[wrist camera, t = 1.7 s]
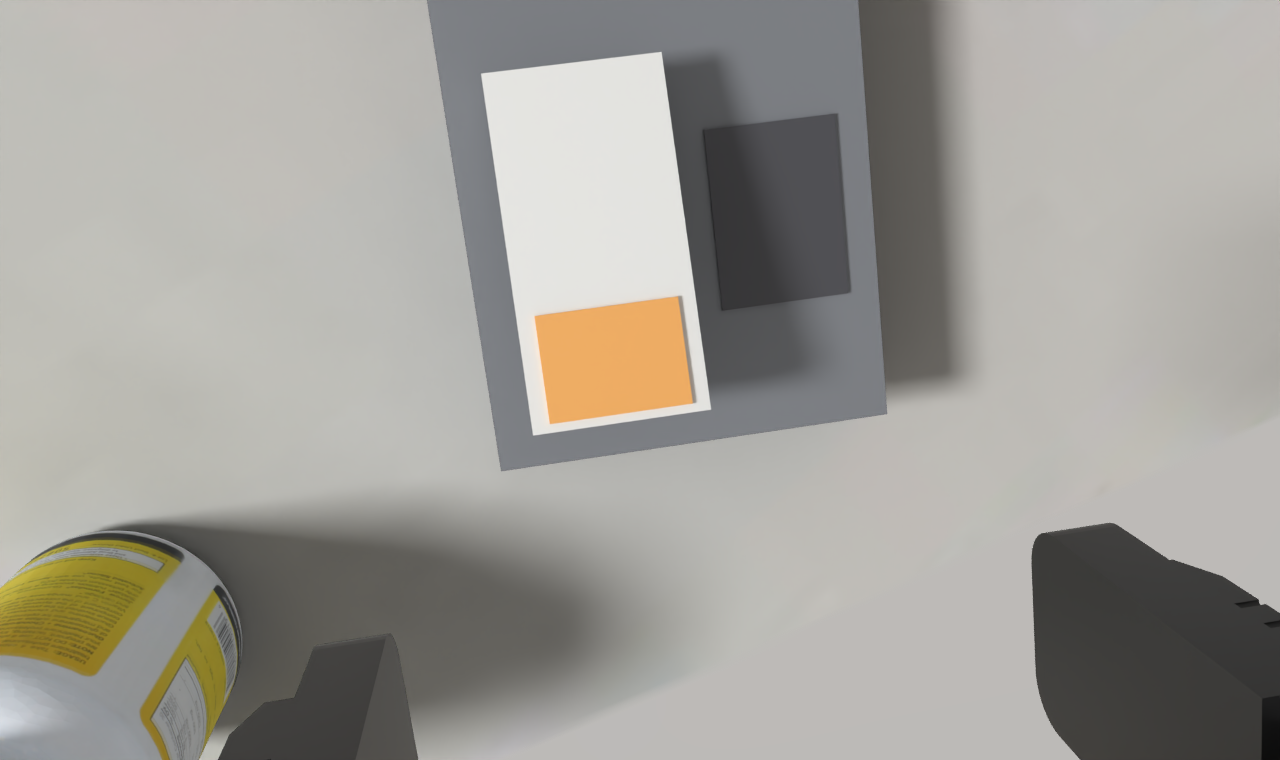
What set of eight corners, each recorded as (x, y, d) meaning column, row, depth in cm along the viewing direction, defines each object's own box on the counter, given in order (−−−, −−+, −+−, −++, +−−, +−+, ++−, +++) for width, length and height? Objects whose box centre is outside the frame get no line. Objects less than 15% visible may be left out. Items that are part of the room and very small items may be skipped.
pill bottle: (-39, 577, 30) (-363, 846, 19) (183, 485, 31) (-10, 700, 19) (78, 771, 32) (-157, 1125, 21) (290, 684, 32) (169, 989, 21)
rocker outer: (484, 87, 26) (480, 72, 24) (656, 65, 26) (661, 50, 25) (533, 432, 26) (533, 435, 25) (703, 406, 26) (711, 409, 25)
